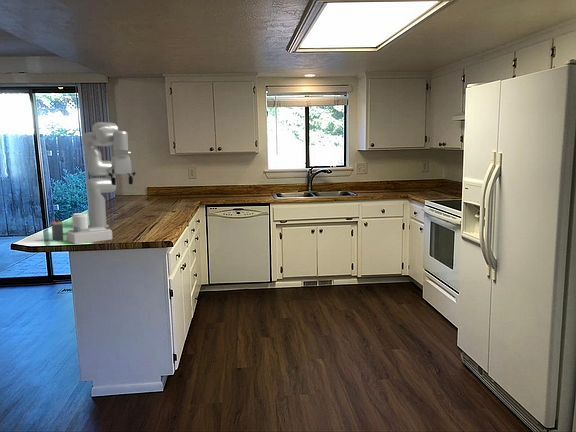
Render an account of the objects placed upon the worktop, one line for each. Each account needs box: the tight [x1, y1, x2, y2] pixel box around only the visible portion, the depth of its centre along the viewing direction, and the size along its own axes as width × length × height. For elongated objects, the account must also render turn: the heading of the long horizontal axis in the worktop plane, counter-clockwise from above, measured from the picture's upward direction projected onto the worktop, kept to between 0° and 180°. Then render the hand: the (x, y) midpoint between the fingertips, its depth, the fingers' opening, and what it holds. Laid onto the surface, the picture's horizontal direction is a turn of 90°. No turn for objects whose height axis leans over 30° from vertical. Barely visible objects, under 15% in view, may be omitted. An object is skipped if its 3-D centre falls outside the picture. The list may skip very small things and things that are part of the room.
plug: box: [51, 218, 64, 242], centre depth 248 cm, size 5×4×12 cm
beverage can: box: [71, 212, 89, 230], centre depth 266 cm, size 8×8×12 cm
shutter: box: [72, 226, 90, 232], centre depth 246 cm, size 7×7×3 cm
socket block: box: [66, 227, 113, 245], centre depth 249 cm, size 12×20×6 cm, turn 134°
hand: (122, 184), depth 253 cm, fingers open, 9 cm apart
